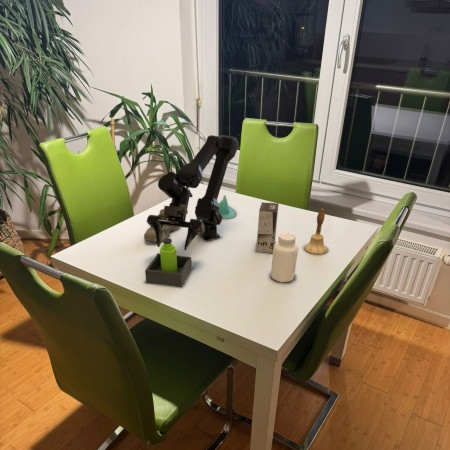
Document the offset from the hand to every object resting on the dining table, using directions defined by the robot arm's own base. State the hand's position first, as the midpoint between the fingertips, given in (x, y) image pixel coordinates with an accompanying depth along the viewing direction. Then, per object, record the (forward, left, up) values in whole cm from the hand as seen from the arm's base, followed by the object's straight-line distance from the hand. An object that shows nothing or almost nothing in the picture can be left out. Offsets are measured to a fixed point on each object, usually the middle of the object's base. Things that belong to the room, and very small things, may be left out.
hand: (171, 248), depth 136 cm
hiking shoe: (-28, +7, -9) cm, 31 cm away
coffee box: (0, +38, -9) cm, 39 cm away
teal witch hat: (-40, +39, -9) cm, 57 cm away
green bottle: (+3, -2, -8) cm, 9 cm away
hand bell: (+10, +54, -9) cm, 56 cm away
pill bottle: (+21, +31, -9) cm, 38 cm away
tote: (+3, -2, -8) cm, 9 cm away
